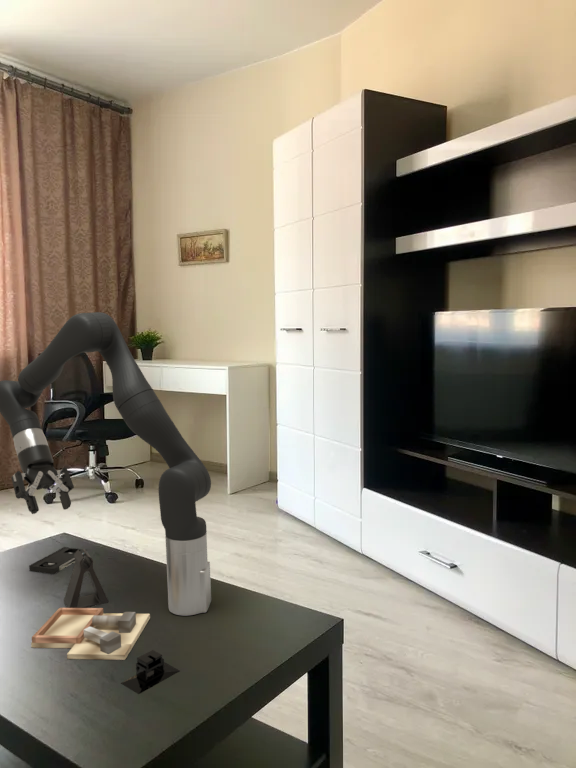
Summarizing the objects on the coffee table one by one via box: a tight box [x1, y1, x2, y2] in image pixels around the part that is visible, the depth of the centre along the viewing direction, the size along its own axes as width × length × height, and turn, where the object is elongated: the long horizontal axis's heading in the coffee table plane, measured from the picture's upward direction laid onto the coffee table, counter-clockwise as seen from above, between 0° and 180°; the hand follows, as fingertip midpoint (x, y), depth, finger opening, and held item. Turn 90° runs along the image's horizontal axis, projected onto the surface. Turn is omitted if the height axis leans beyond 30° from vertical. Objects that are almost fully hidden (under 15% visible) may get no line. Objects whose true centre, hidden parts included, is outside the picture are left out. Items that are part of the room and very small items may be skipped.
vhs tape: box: [28, 546, 88, 575], centre depth 171 cm, size 14×8×2 cm, turn 161°
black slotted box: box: [120, 649, 181, 695], centre depth 114 cm, size 12×7×5 cm, turn 139°
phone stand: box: [63, 548, 109, 608], centre depth 145 cm, size 9×6×12 cm, turn 120°
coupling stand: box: [30, 607, 151, 661], centre depth 129 cm, size 21×17×4 cm
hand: (51, 510), depth 148 cm, fingers open, 8 cm apart
